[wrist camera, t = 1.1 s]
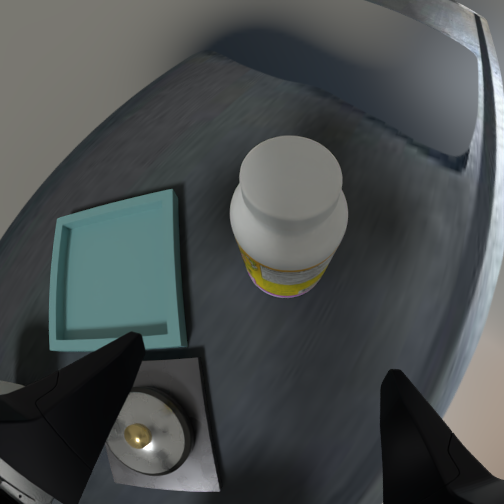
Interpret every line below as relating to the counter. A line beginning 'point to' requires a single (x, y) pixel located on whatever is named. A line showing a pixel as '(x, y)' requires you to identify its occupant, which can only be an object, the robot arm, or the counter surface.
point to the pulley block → (165, 430)
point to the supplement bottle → (288, 214)
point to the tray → (118, 275)
